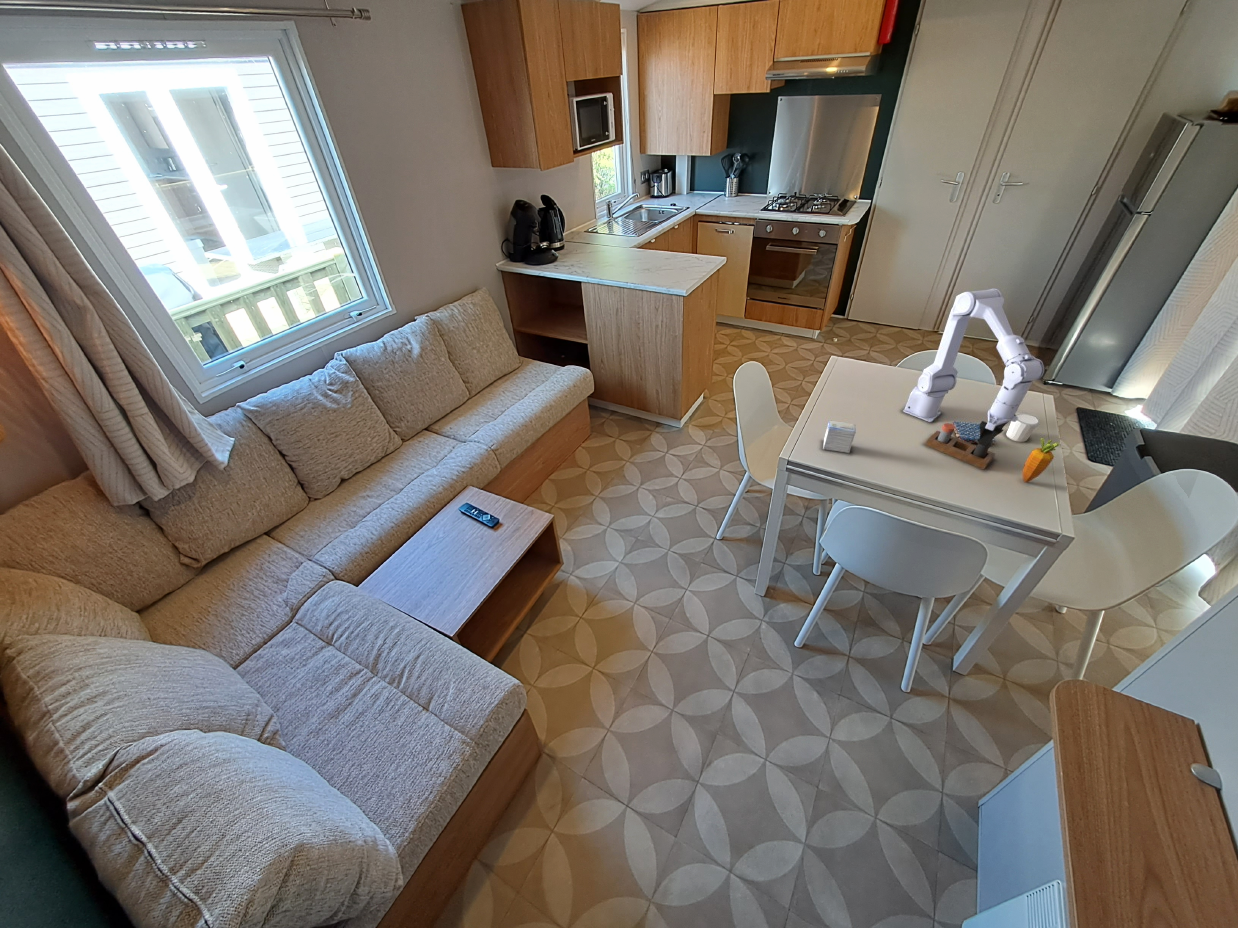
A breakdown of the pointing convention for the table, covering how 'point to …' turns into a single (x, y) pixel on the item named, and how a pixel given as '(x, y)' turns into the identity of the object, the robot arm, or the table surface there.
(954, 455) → the marker stand
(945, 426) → the grey marker
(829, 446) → the medicine box
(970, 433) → the woven mat
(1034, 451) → the carrot
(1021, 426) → the white cylinder
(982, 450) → the cylinder
